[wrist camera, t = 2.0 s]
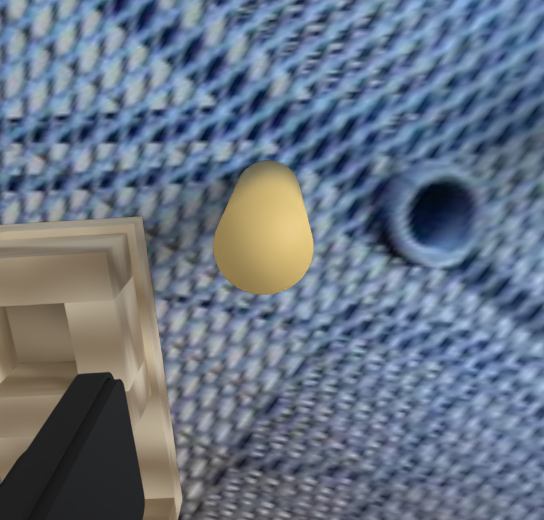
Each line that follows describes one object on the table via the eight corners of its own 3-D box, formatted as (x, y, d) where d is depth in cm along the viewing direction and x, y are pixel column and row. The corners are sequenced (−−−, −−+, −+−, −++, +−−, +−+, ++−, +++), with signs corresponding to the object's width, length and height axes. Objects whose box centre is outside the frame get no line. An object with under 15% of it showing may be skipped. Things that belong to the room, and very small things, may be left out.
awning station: (189, 499, 39) (126, 789, 23) (20, 506, 40) (-160, 797, 23) (150, 215, 33) (22, 339, 16) (-53, 228, 33) (-378, 361, 17)
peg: (301, 222, 33) (315, 291, 21) (238, 226, 33) (218, 297, 21) (298, 158, 31) (311, 195, 20) (233, 162, 32) (208, 201, 20)
